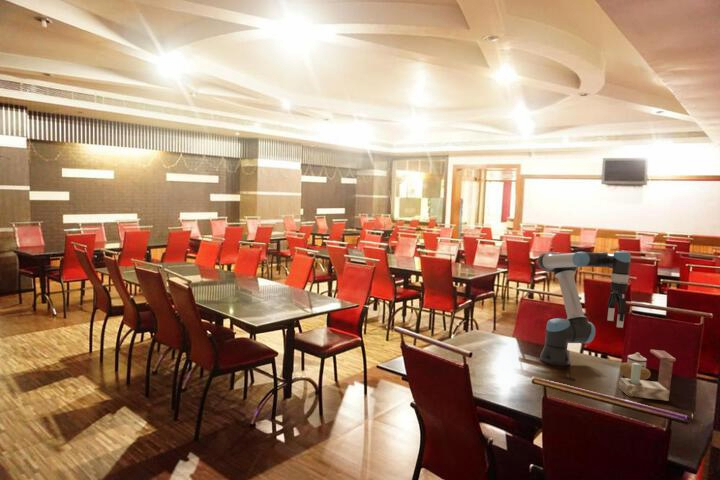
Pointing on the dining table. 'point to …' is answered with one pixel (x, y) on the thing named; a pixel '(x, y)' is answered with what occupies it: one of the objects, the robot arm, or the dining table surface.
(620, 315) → the robot arm
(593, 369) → the dining table surface
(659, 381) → the socket stand
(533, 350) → the dining table surface
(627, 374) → the potato
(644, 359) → the teacup with lid
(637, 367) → the peg
